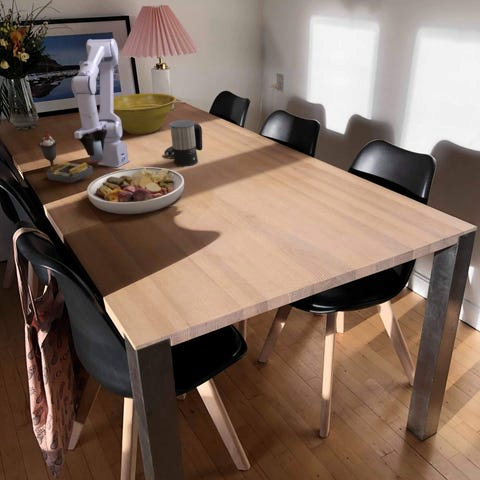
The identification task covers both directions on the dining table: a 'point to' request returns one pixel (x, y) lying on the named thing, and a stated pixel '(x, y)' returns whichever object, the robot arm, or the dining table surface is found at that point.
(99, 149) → the blue-grey rounded cylinder
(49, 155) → the sundae
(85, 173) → the grey square frame
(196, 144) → the milk frother
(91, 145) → the robot arm
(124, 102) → the planter bowl
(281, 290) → the dining table surface
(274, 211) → the dining table surface
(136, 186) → the bowl
